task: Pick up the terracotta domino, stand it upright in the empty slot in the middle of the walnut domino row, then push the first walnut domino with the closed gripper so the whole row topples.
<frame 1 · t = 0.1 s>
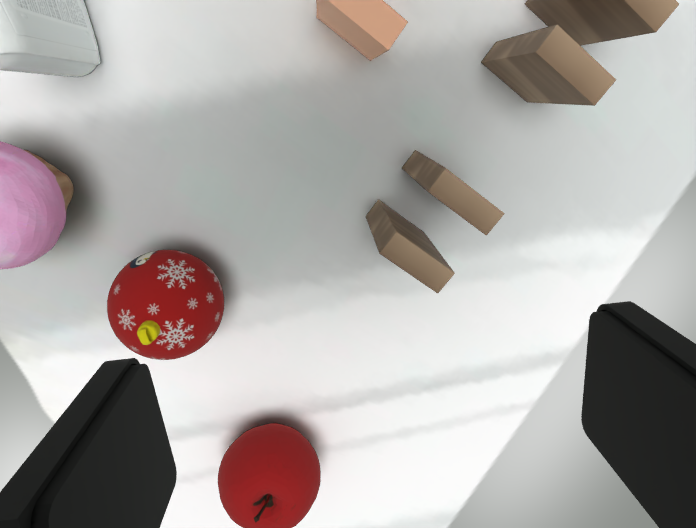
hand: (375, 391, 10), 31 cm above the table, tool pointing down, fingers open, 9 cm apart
domino 4: (431, 176, 40), on the table
photo printer: (57, 0, 34), on the table
domino 5: (395, 224, 41), on the table
apple: (274, 442, 48), on the table
domino 2: (512, 72, 38), on the table
domino 1: (556, 15, 36), on the table
christmas ornament: (183, 282, 42), on the table
cupcake: (45, 188, 39), on the table
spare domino: (351, 28, 36), on the table
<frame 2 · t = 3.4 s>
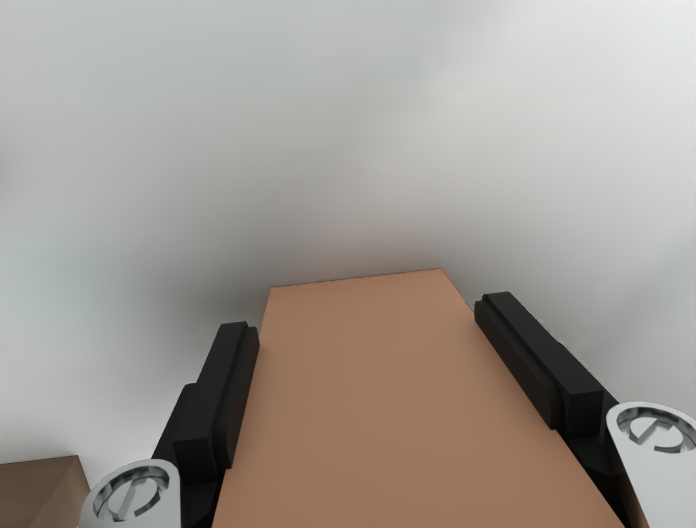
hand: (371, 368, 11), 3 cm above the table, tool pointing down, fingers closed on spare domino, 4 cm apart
domino 2: (8, 486, 16), on the table
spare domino: (359, 306, 14), on the table, touching gripper
when the fingers open (4 cm above the table, at t = 9.3 s): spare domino stays where it is, on the table.
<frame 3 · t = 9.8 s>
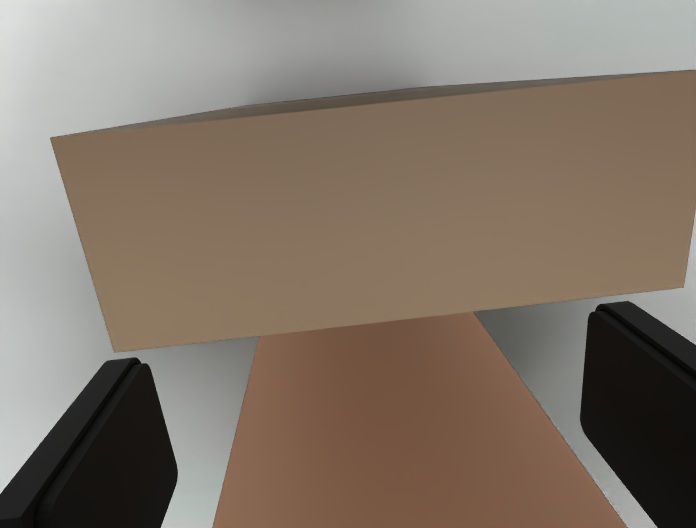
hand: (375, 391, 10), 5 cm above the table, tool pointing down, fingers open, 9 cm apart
domino 4: (340, 130, 13), on the table
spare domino: (357, 295, 15), on the table
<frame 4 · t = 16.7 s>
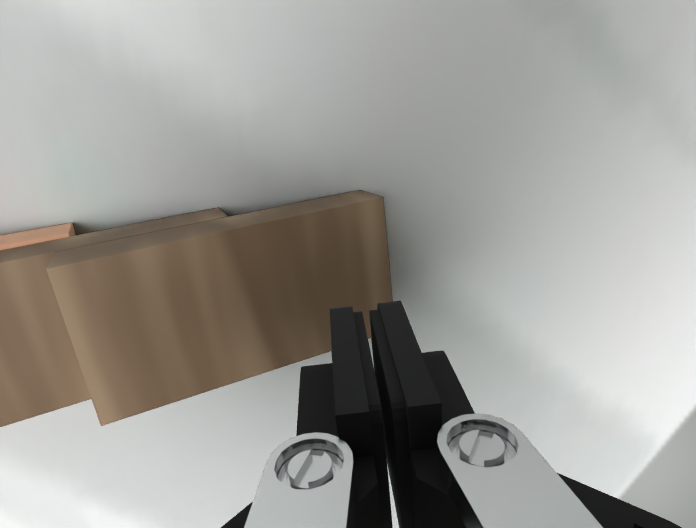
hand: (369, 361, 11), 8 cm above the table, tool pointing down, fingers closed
domino 2: (236, 277, 18), point 1 cm above the table, tilted 68°, touching domino 1, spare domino
domino 1: (377, 260, 18), point 1 cm above the table, tilted 69°, touching domino 2
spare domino: (90, 293, 17), point 1 cm above the table, tilted 68°, touching domino 2, domino 4
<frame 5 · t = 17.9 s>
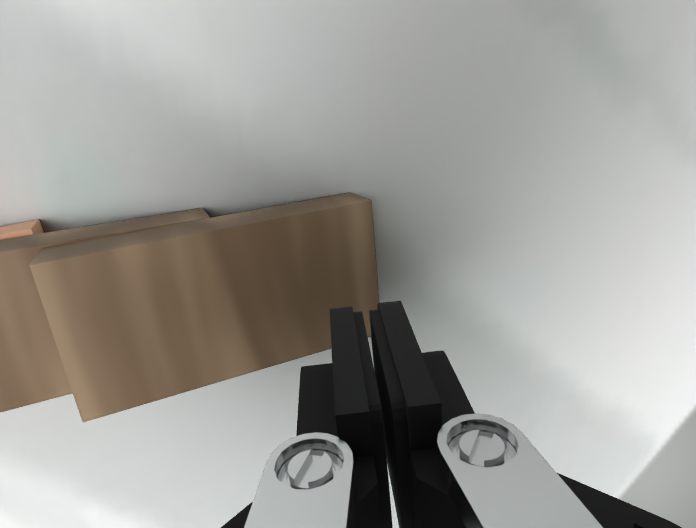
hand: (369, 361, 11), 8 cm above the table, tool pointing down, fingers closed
domino 2: (218, 279, 17), point 1 cm above the table, tilted 70°, touching domino 1, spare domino
domino 1: (365, 263, 18), point 1 cm above the table, tilted 70°, touching domino 2
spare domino: (59, 290, 17), point 1 cm above the table, tilted 69°, touching domino 2, domino 4
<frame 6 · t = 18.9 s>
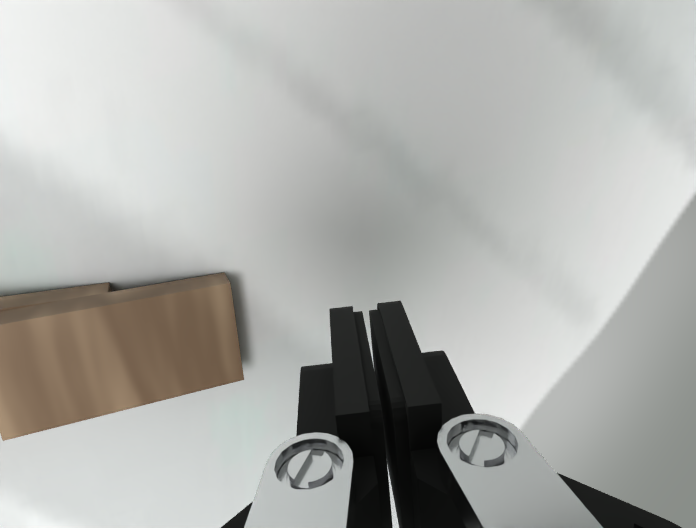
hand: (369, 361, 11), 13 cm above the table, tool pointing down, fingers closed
domino 2: (117, 336, 23), point 1 cm above the table, tilted 71°, touching domino 1, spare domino
domino 1: (234, 325, 23), point 1 cm above the table, tilted 71°, touching domino 2
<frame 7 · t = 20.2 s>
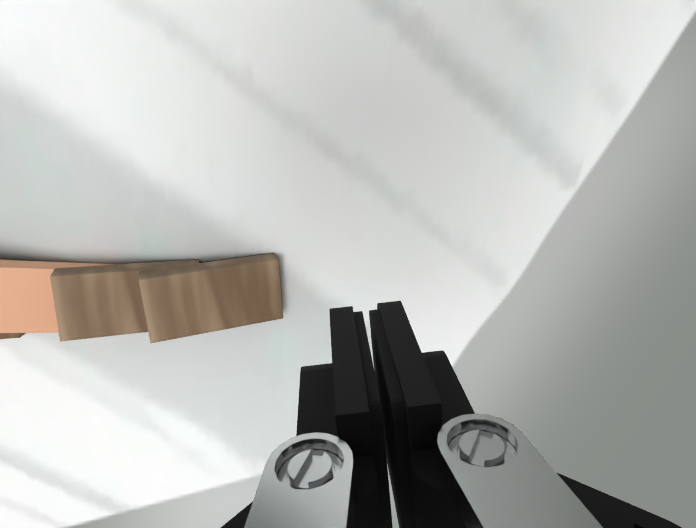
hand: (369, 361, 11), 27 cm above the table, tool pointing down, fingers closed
domino 2: (201, 292, 38), point 1 cm above the table, tilted 73°, touching domino 1, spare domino
domino 1: (278, 285, 39), point 1 cm above the table, tilted 72°, touching domino 2
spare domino: (113, 297, 38), point 1 cm above the table, tilted 72°, touching domino 2, domino 4
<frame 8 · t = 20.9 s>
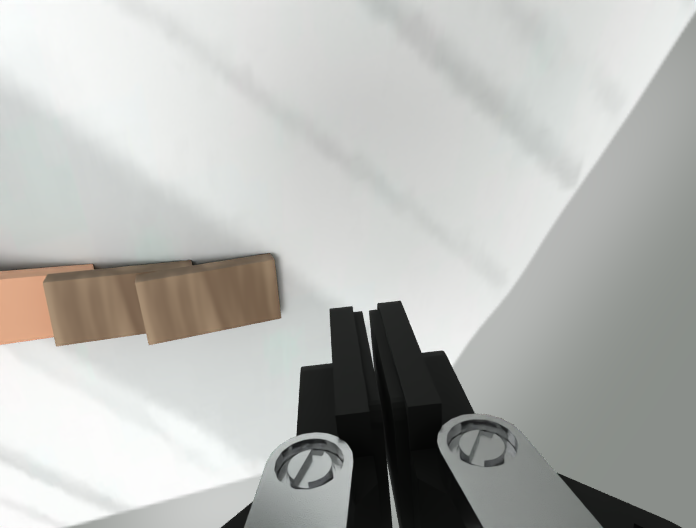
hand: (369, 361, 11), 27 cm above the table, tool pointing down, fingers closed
domino 2: (194, 293, 38), point 1 cm above the table, tilted 72°, touching domino 1, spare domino
domino 1: (275, 285, 39), point 1 cm above the table, tilted 73°, touching domino 2
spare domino: (96, 297, 38), point 1 cm above the table, tilted 63°, touching domino 2, domino 4
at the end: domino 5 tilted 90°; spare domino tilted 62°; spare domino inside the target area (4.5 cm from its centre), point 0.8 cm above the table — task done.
